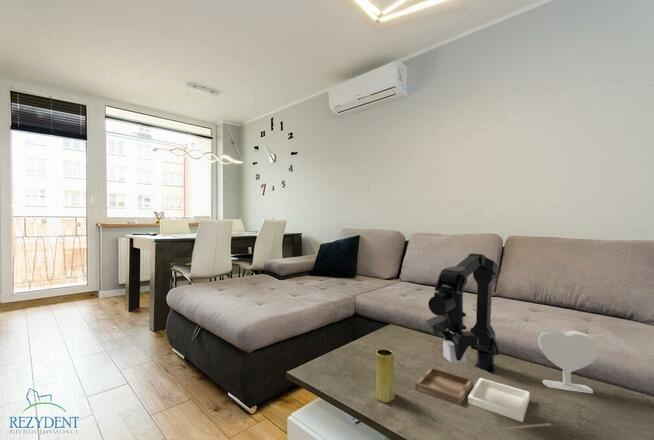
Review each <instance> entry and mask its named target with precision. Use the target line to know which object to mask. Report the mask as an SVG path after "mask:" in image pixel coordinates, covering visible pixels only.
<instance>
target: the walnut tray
mask: <svg viewBox="0 0 654 440" xmlns="http://www.w3.org/2000/svg"><path fill="white" fill-rule="evenodd" d="M414 387H415V388H414V389H415V391H419V392H422V393H424V394H427V395H430V396H432V397H435V398H438V399H441V400H444V401H446V402H450V403H452V404H455V405H458V406H461V405H462V403H463V401H464V400H465V399H466V397H468V395H469V392H471V390H472V389H473V388H472V387H474V379H473V378H470V377H467V376H463V375H460V374H456V373H453V372H450V371H447V370H442V369H439V368H435V367H432V366H431V367H430V368H429V369H427V371H426V372H425V373H424V374H423V375H421V377H420V378H419V379H418V380H417V381H416V382H415V383H414Z"/></svg>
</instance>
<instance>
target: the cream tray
mask: <svg viewBox="0 0 654 440" xmlns="http://www.w3.org/2000/svg"><path fill="white" fill-rule="evenodd" d="M530 393H531V392H530V391H527V390H524V389H521V388H518V387H517V388H516V387H514V386H510V385H507V384H504V383H500V382H496V381H492V380H489V379H486V378H483V377H479V378H478V380H477V381H476V383H475V384H474V385H473V388H471V390H470V393H468V395H467V404H469V405H472V406H475V407H478V408H480V409H484V410H486V411H488V412H489V411H490V412H492V413H495V414H497V415H498V414H499V415H500V416H504V417H507V418H510V419H512V420H515V421H518V422H521V423H523V422H524V420H525V417H526V412H527V409H528V406H529V403H530V396H531V395H530Z"/></svg>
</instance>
